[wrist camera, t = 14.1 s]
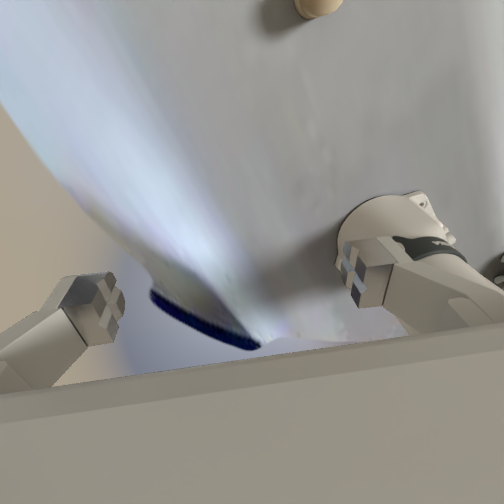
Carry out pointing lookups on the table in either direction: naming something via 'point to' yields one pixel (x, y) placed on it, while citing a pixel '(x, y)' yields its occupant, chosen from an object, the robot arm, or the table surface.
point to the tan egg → (316, 7)
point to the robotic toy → (500, 278)
